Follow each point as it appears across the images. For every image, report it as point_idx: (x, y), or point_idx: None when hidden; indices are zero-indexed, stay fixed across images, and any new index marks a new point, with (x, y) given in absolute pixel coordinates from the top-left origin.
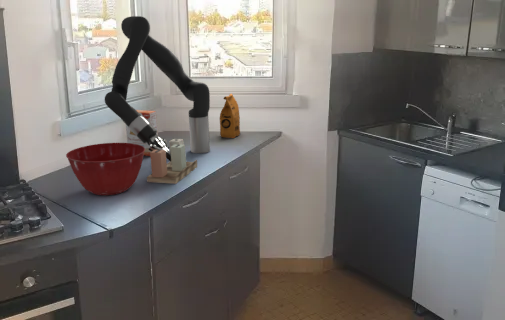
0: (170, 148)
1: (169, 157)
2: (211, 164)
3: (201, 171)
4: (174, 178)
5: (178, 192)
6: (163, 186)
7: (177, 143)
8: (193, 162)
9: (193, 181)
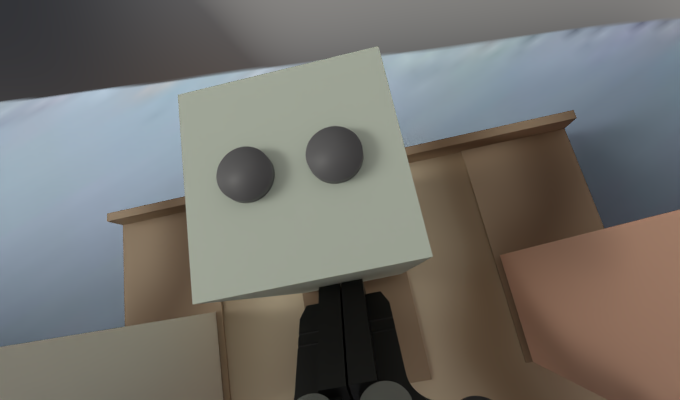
0: (430, 256)
1: (391, 311)
2: (76, 169)
3: None
4: (562, 131)
5: (672, 26)
6: (639, 185)
7: (12, 384)
8: (182, 197)
9: (438, 70)
